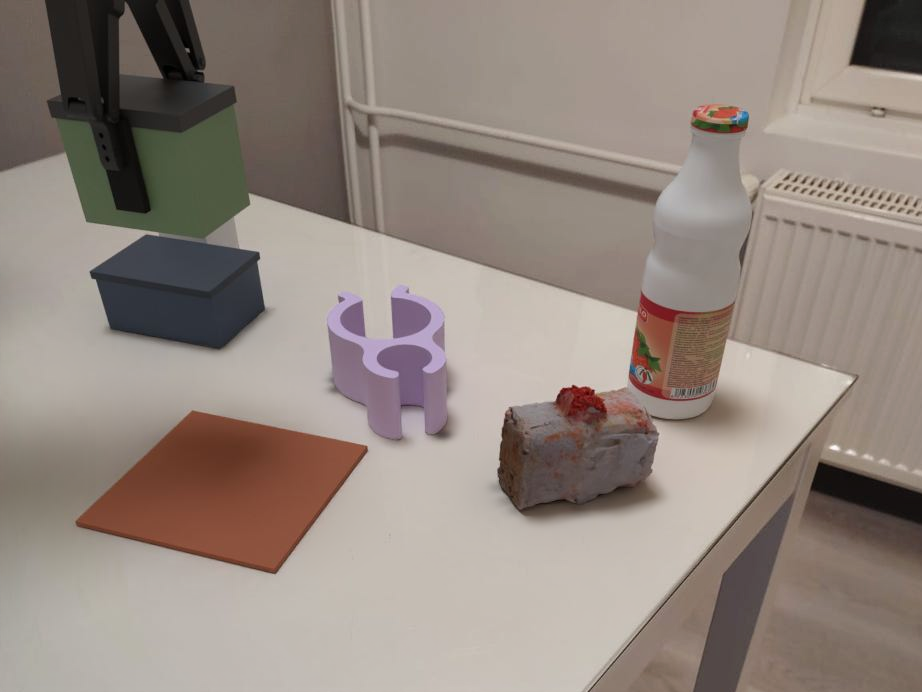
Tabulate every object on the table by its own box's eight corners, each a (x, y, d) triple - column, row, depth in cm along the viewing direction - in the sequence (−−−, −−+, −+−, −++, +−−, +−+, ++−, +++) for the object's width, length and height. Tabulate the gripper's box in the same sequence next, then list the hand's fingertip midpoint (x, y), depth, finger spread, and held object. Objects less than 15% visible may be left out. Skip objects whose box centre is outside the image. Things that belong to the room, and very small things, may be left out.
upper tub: (82, 223, 74) (45, 100, 68) (139, 189, 80) (110, 72, 74) (204, 240, 72) (178, 115, 66) (254, 204, 78) (234, 85, 71)
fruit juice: (701, 429, 94) (766, 134, 74) (615, 410, 96) (654, 119, 76) (720, 387, 100) (784, 103, 80) (638, 370, 102) (680, 90, 82)
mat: (76, 525, 81) (74, 521, 81) (193, 414, 95) (192, 410, 94) (275, 573, 77) (274, 569, 77) (368, 449, 90) (367, 445, 90)
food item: (617, 449, 91) (630, 359, 84) (655, 494, 86) (672, 402, 79) (492, 475, 87) (494, 384, 80) (522, 523, 82) (528, 430, 75)
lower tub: (106, 329, 108) (88, 271, 103) (159, 289, 115) (146, 233, 110) (221, 350, 104) (209, 291, 99) (268, 308, 112) (259, 251, 107)
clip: (473, 428, 93) (474, 367, 88) (355, 445, 91) (349, 383, 86) (428, 339, 107) (426, 282, 102) (323, 352, 104) (316, 294, 99)
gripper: (23, -164, 51) (131, 244, 67) (213, -185, 65) (264, 156, 81) (-86, -168, 52) (46, 232, 68) (123, -187, 66) (191, 147, 83)
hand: (164, 190), depth 75 cm, fingers closed on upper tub, 8 cm apart
